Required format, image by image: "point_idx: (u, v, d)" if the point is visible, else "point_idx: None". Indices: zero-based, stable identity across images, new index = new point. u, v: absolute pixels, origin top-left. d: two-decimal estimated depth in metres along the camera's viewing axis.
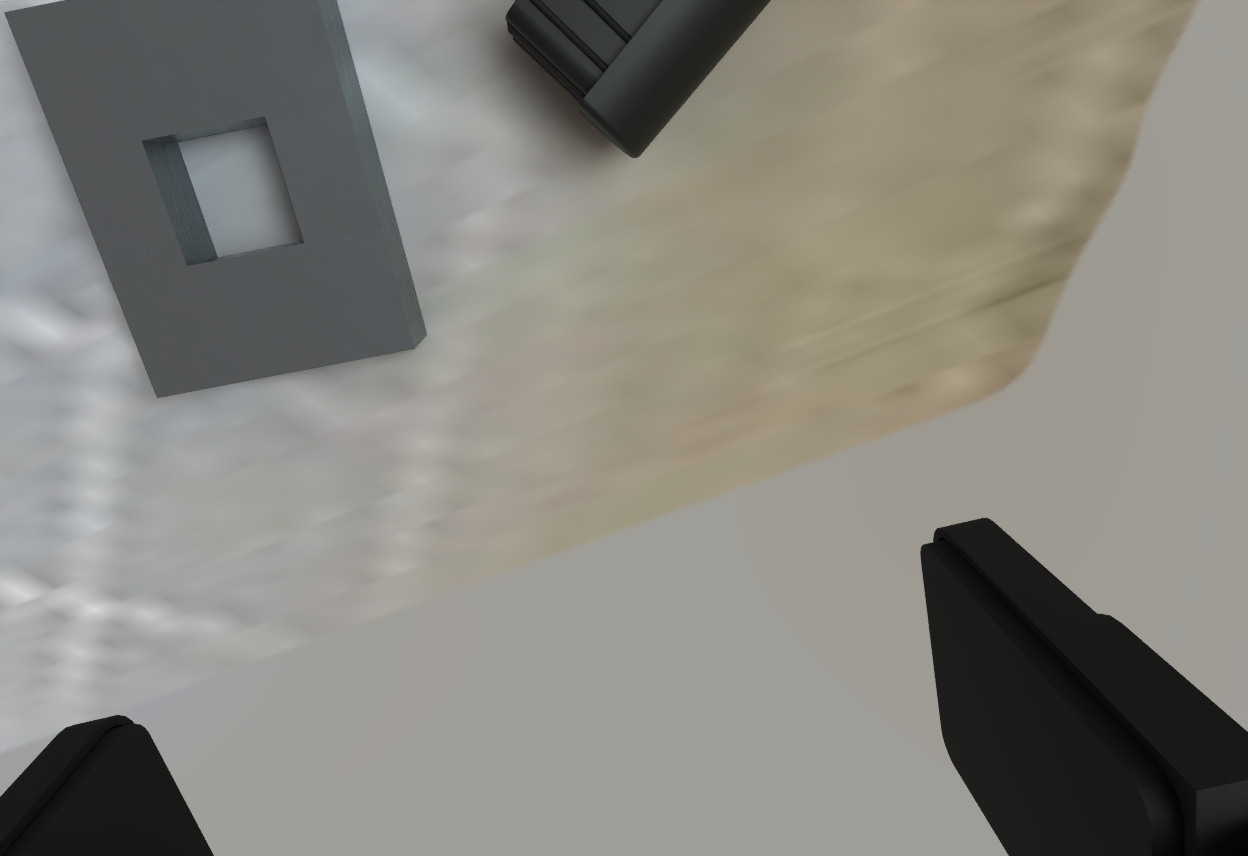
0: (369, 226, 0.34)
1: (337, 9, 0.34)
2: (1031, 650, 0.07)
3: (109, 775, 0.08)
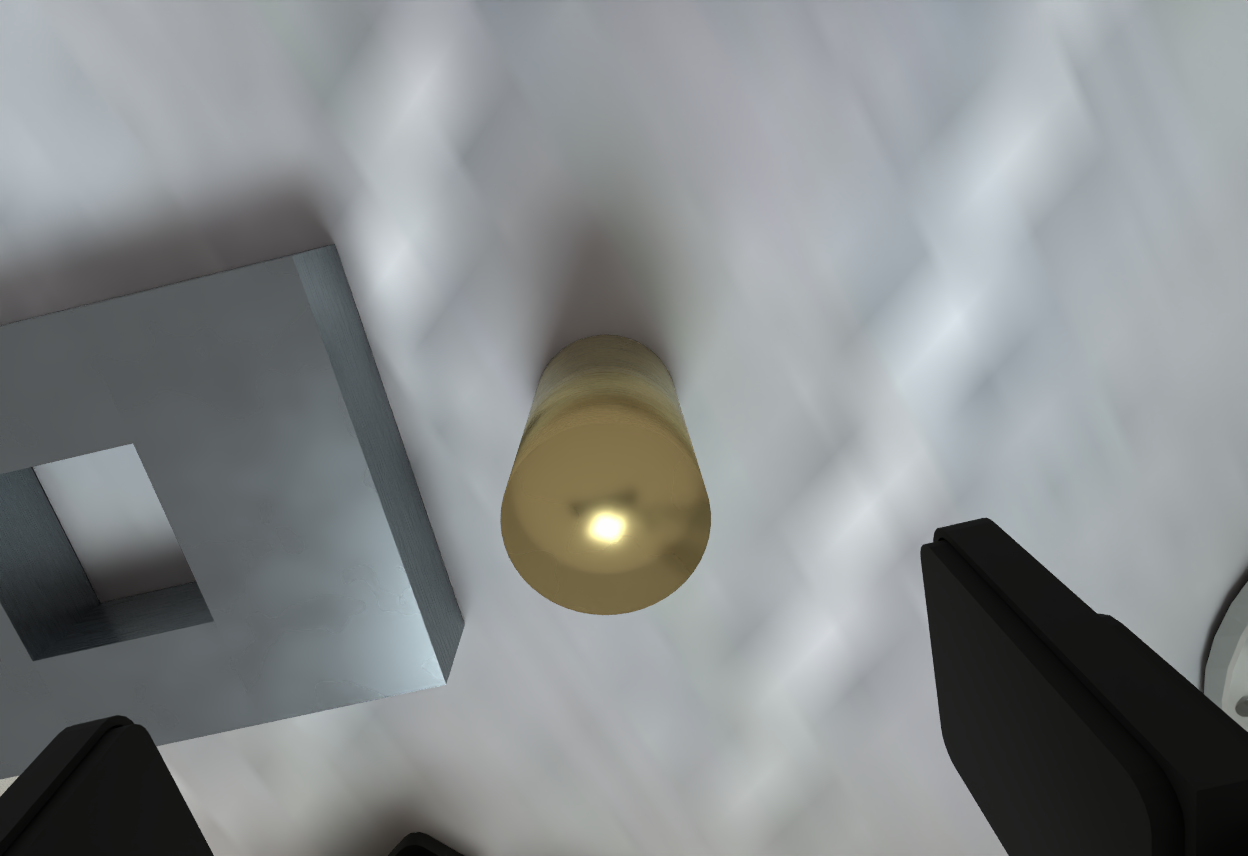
0: None
1: None
2: (1031, 650, 0.07)
3: (109, 775, 0.08)
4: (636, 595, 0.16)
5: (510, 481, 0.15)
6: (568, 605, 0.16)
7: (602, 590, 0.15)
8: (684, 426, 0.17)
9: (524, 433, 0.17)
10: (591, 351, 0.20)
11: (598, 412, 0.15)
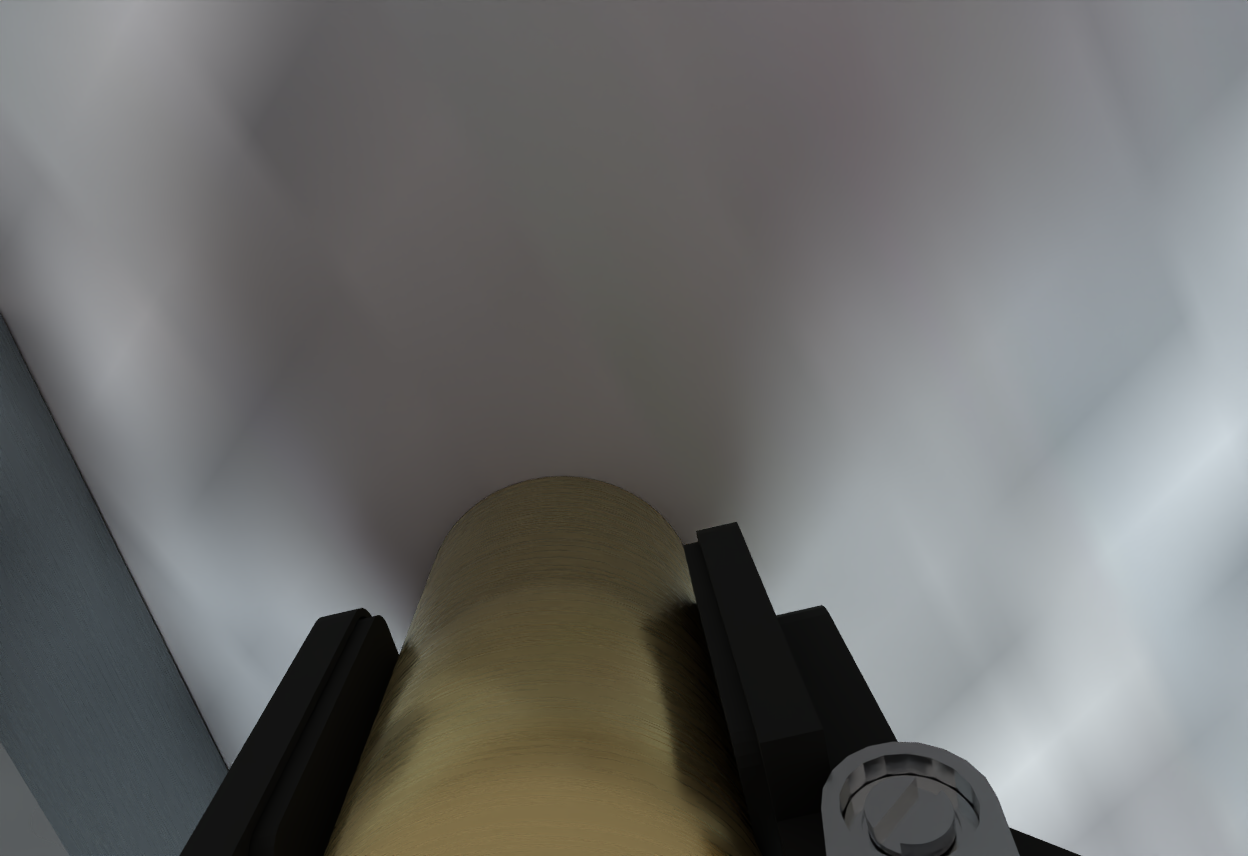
0: None
1: None
2: (713, 634, 0.08)
3: (370, 654, 0.09)
4: None
5: None
6: None
7: None
8: (744, 803, 0.07)
9: (328, 847, 0.07)
10: (524, 540, 0.10)
11: None
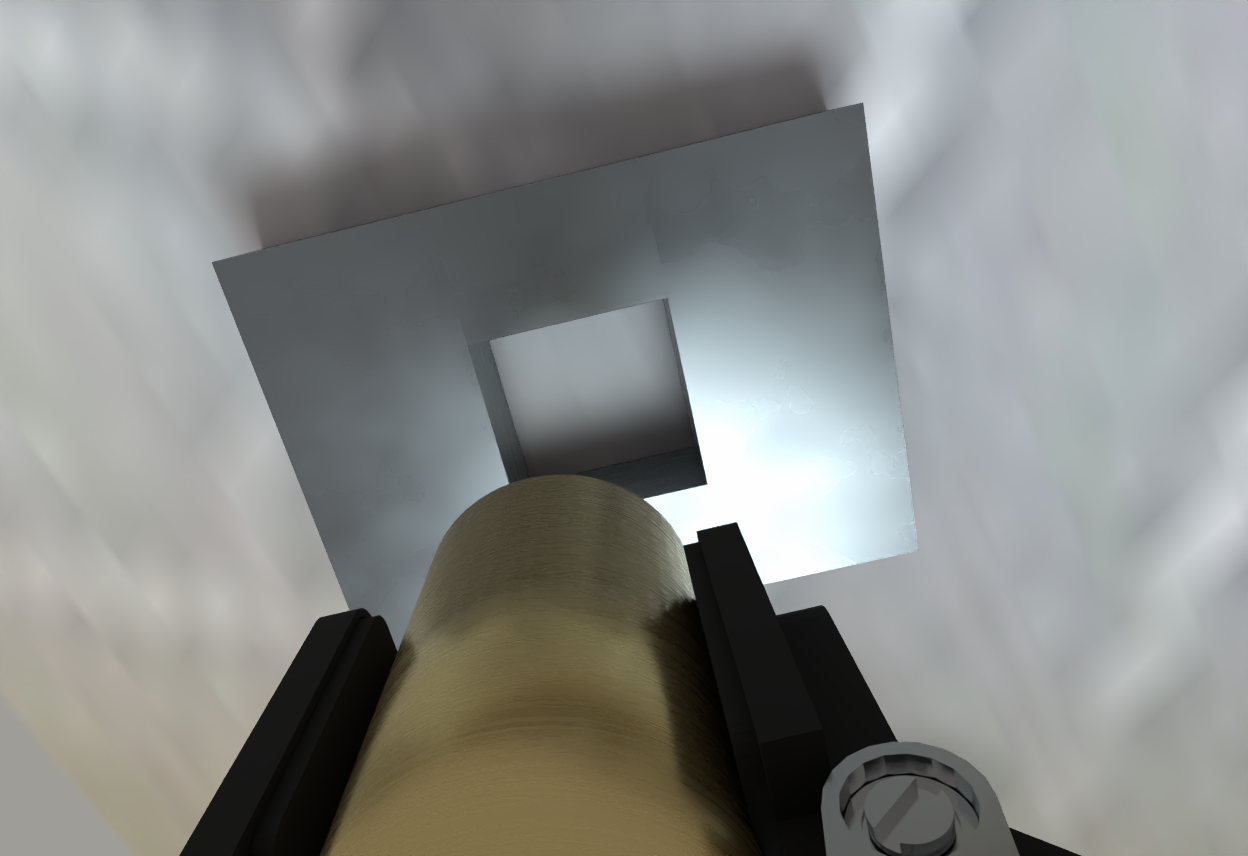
0: None
1: None
2: (713, 635, 0.08)
3: (370, 654, 0.09)
4: None
5: None
6: None
7: None
8: (744, 802, 0.07)
9: (323, 847, 0.06)
10: (523, 538, 0.09)
11: None
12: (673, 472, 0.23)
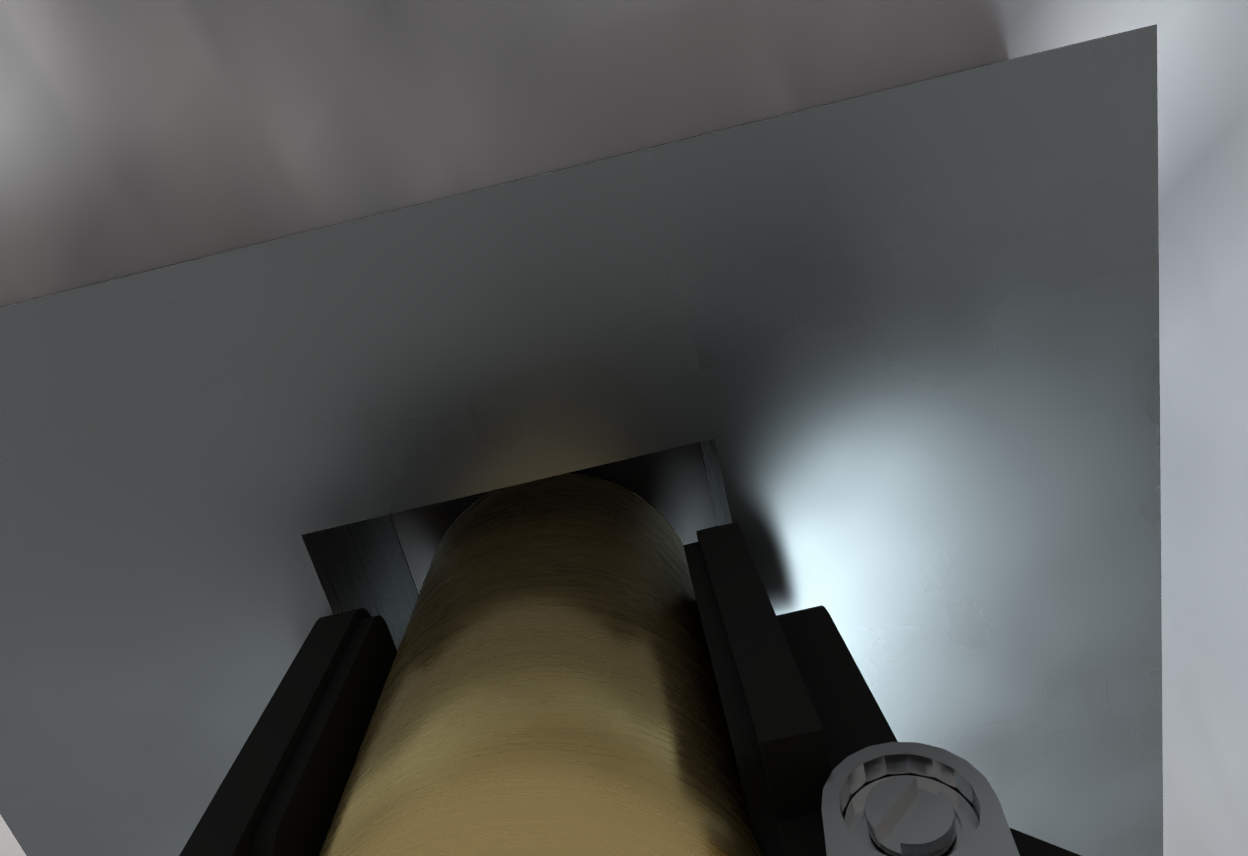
0: None
1: None
2: (714, 635, 0.08)
3: (370, 654, 0.09)
4: None
5: None
6: None
7: None
8: (743, 800, 0.07)
9: (324, 844, 0.06)
10: (523, 537, 0.10)
11: None
12: None
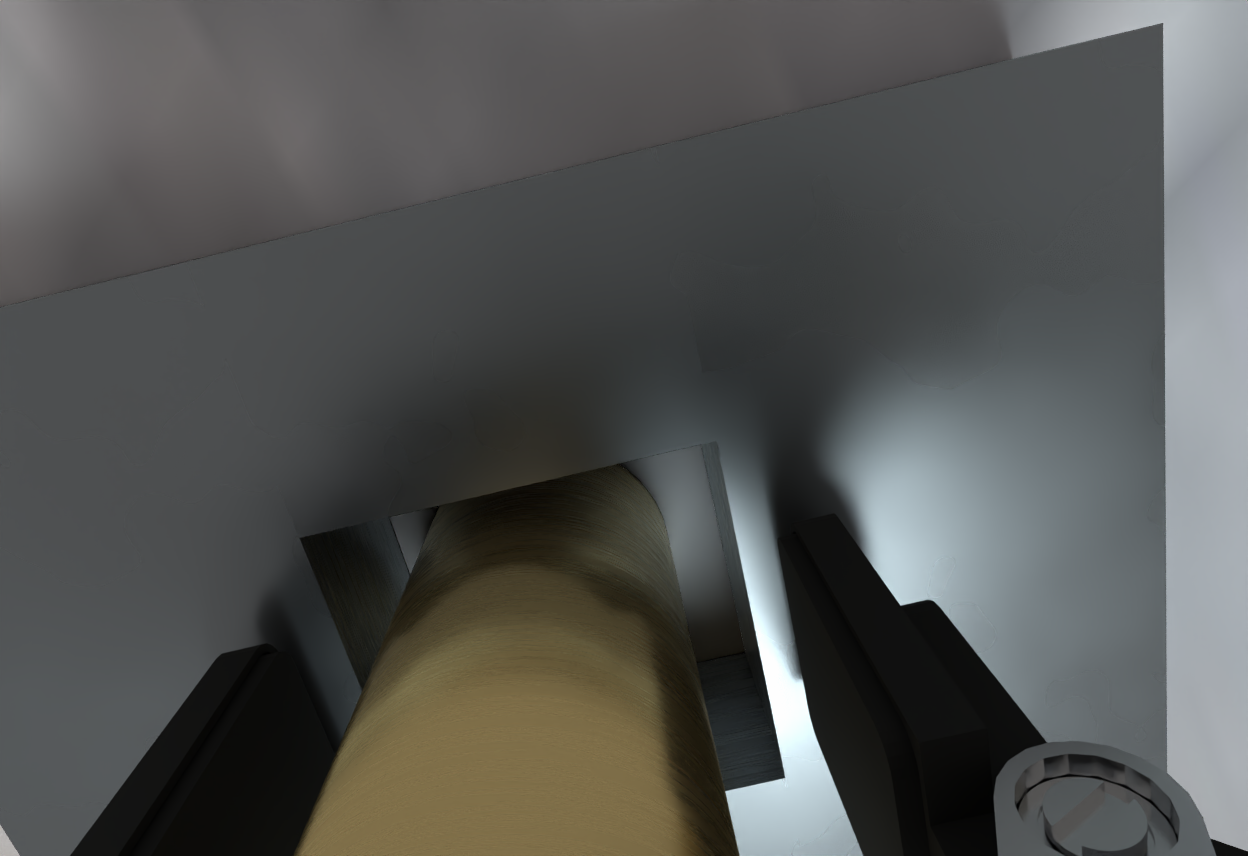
0: None
1: None
2: (835, 629, 0.07)
3: (269, 693, 0.09)
4: None
5: None
6: None
7: None
8: (696, 703, 0.08)
9: (343, 736, 0.08)
10: (513, 494, 0.11)
11: (480, 796, 0.06)
12: (713, 725, 0.12)
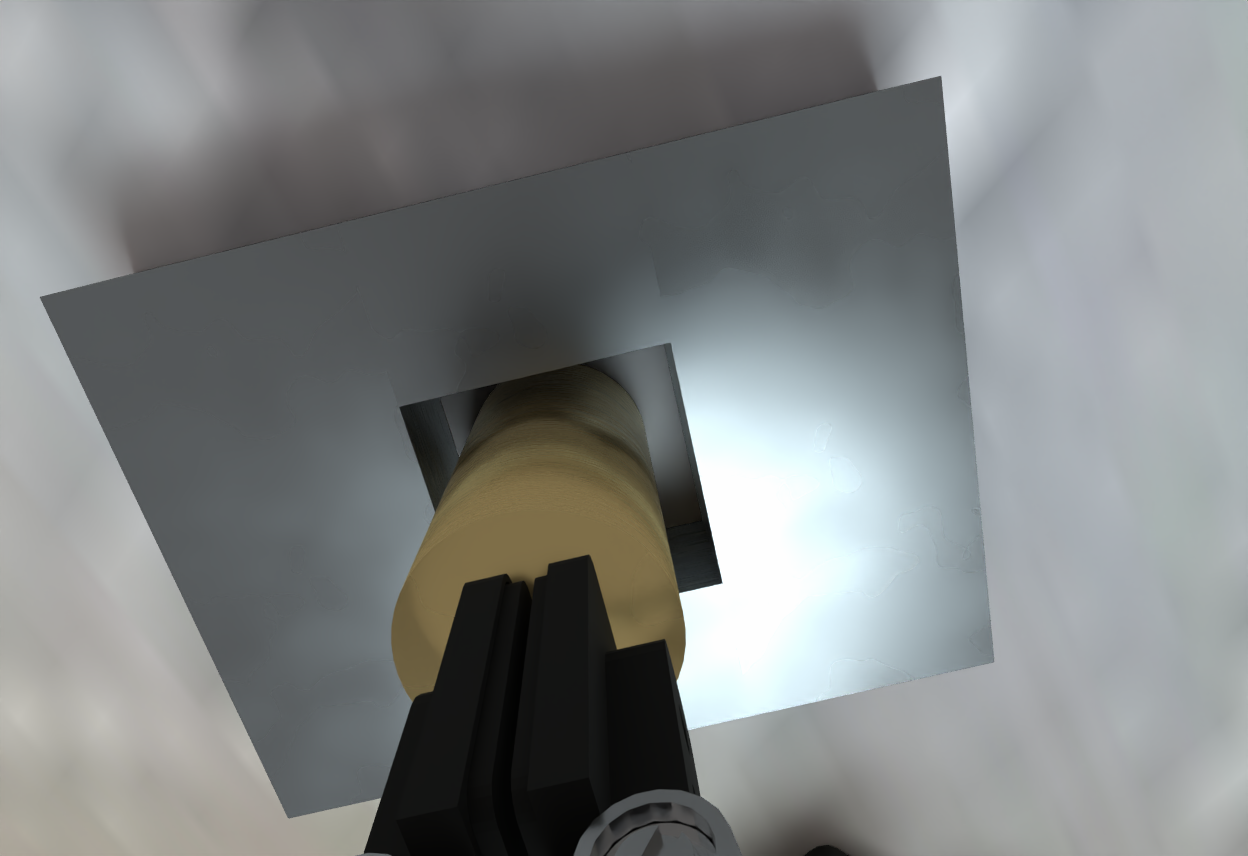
0: None
1: None
2: (530, 674, 0.08)
3: (523, 618, 0.09)
4: None
5: (402, 591, 0.10)
6: None
7: None
8: (652, 492, 0.13)
9: (438, 505, 0.13)
10: (536, 386, 0.16)
11: (527, 491, 0.11)
12: (676, 560, 0.18)
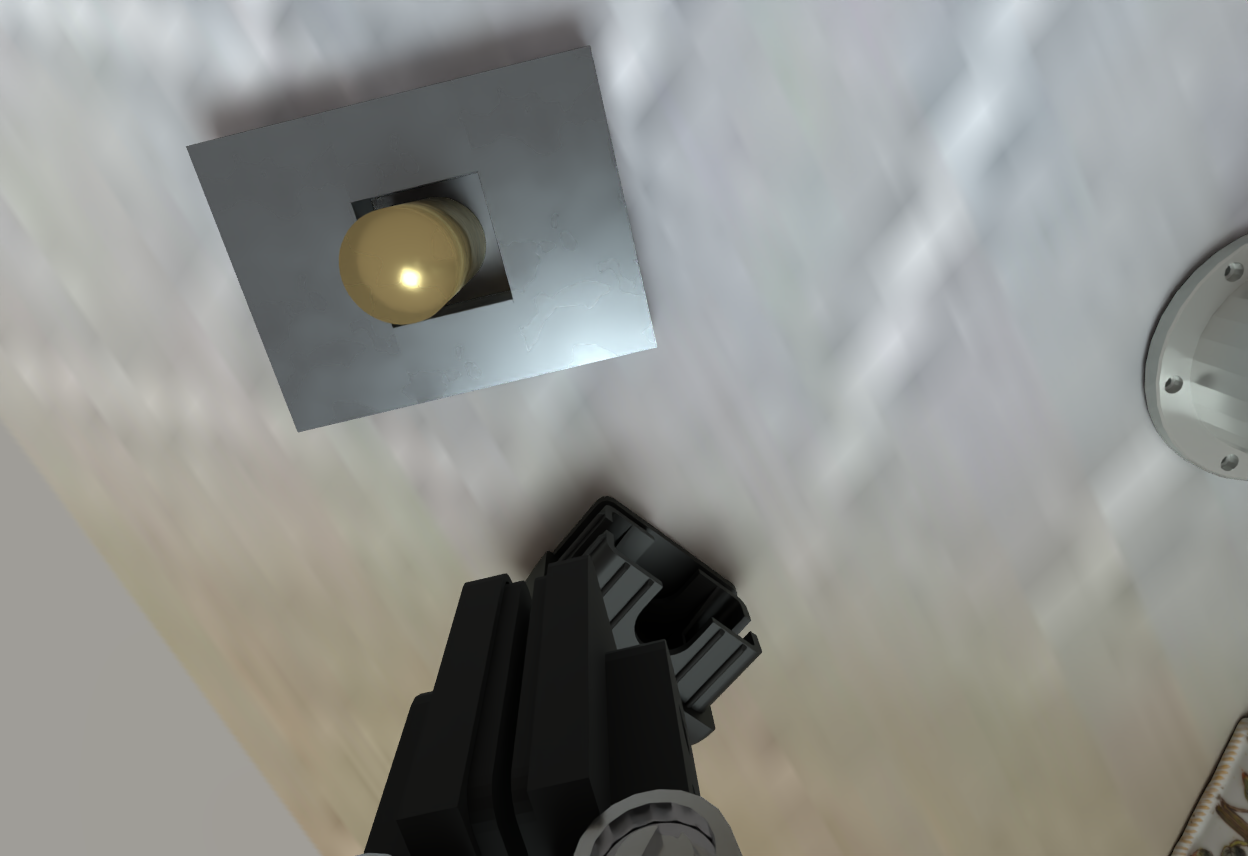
0: (418, 392, 0.34)
1: None
2: (530, 674, 0.08)
3: (523, 618, 0.09)
4: (418, 312, 0.28)
5: (342, 241, 0.27)
6: (379, 318, 0.28)
7: (398, 309, 0.28)
8: (459, 231, 0.30)
9: None
10: None
11: (393, 206, 0.27)
12: (497, 298, 0.34)
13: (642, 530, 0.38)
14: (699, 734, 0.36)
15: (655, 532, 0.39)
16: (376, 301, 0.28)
